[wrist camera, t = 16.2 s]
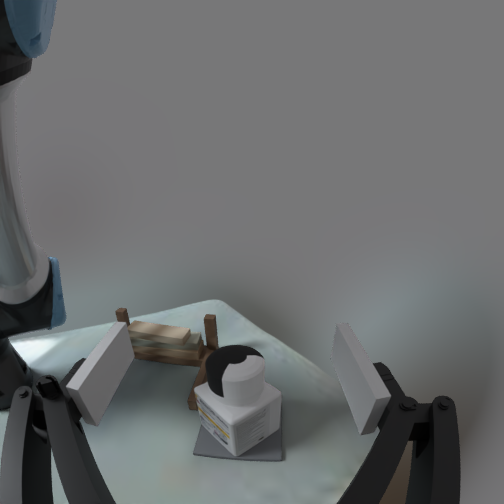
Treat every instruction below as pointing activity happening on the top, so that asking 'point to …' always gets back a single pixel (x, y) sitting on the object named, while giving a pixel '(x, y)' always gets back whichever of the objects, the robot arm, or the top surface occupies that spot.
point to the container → (238, 399)
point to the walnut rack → (207, 350)
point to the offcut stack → (165, 340)
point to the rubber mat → (260, 452)
